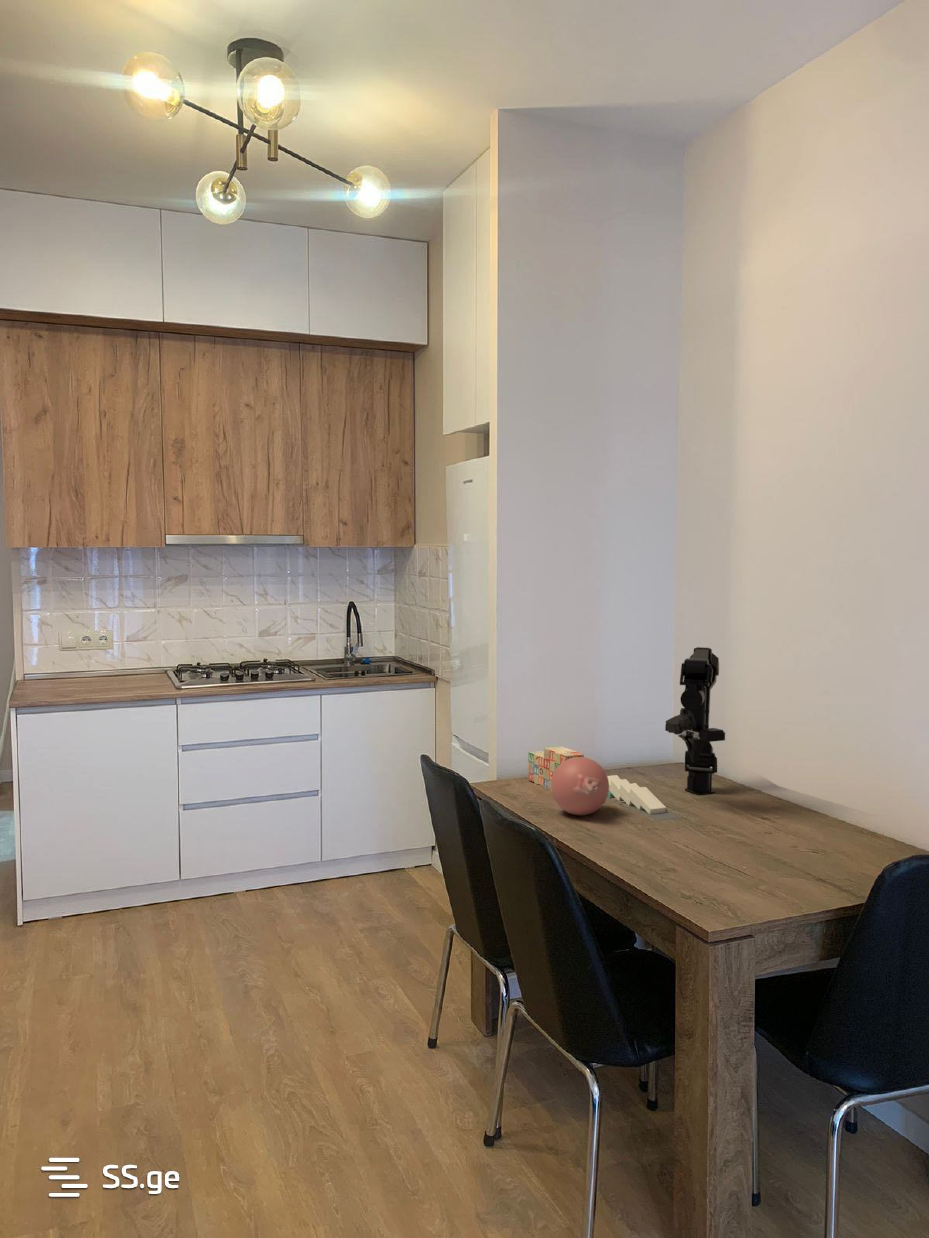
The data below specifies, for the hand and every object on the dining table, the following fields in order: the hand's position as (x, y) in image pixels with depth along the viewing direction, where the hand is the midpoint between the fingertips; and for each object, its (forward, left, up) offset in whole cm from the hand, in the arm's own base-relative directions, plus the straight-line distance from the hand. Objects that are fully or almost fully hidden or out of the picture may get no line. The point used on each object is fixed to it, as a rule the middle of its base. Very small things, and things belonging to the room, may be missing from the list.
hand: (693, 761), depth 255 cm
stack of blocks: (+23, -35, -13) cm, 44 cm away
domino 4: (+13, +2, -12) cm, 18 cm away
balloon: (+33, -5, -13) cm, 36 cm away
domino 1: (+13, -13, -12) cm, 22 cm away
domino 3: (+13, -3, -12) cm, 18 cm away
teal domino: (+13, -17, -12) cm, 24 cm away
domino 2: (+13, -8, -12) cm, 19 cm away
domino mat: (+13, -7, -13) cm, 20 cm away
